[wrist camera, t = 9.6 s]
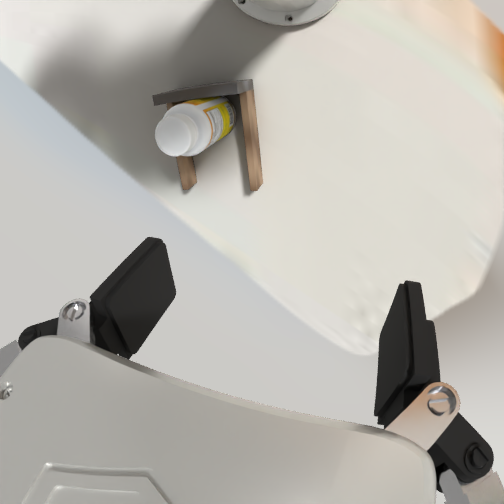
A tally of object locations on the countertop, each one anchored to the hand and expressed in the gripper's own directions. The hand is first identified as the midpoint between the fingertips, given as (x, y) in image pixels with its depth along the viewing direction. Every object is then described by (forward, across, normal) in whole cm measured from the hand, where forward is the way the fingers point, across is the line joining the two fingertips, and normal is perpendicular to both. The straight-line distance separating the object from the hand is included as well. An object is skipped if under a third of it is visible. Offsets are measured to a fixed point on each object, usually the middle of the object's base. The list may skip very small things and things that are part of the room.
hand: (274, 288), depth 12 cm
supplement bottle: (+26, +13, -2) cm, 29 cm away
